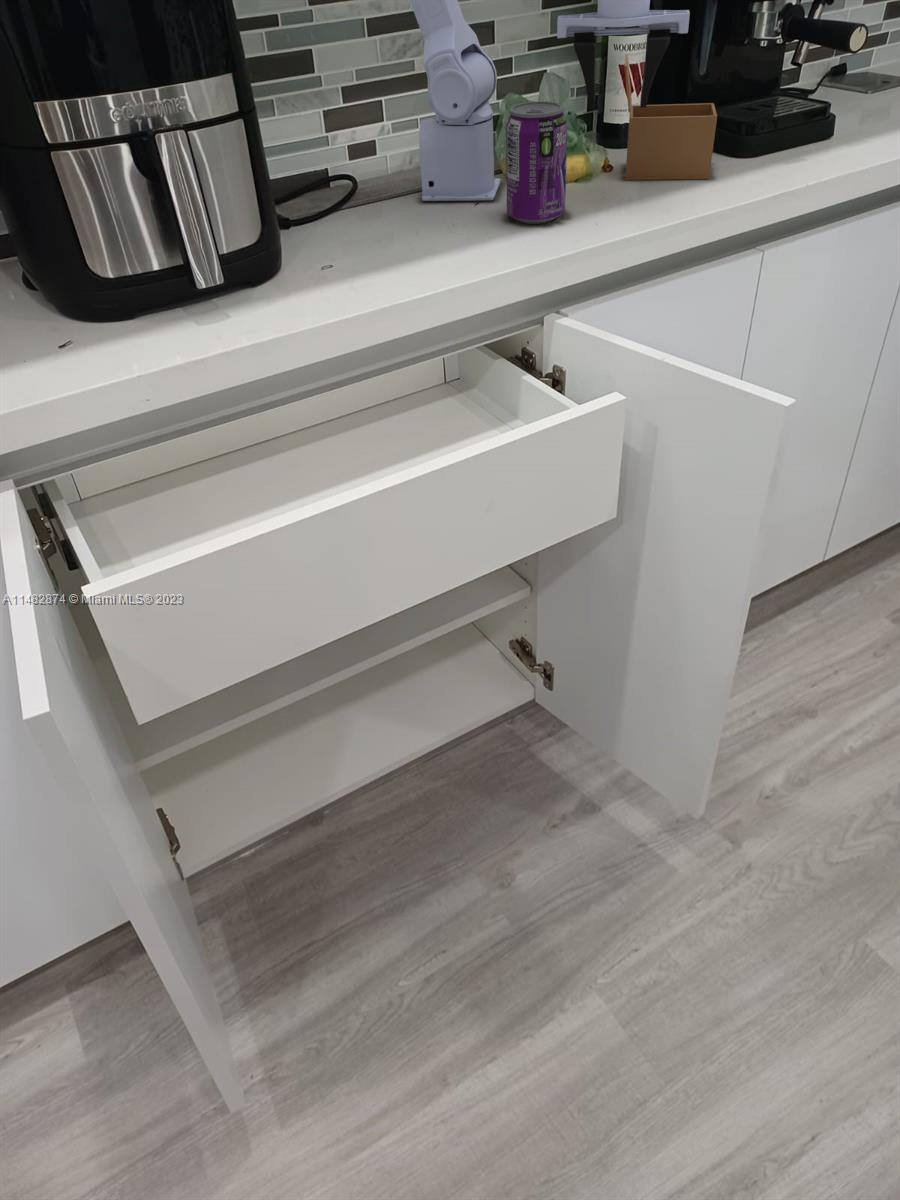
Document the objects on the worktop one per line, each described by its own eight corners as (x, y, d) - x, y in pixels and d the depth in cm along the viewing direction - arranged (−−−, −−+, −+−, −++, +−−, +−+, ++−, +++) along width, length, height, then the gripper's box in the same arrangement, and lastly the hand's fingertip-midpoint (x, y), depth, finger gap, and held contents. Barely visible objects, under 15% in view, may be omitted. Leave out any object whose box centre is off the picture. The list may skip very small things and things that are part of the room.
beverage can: (561, 227, 103) (564, 114, 95) (502, 226, 105) (500, 115, 97) (567, 207, 108) (570, 99, 101) (511, 207, 110) (510, 100, 102)
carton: (625, 180, 116) (629, 118, 111) (626, 165, 121) (630, 105, 116) (709, 179, 114) (717, 116, 109) (706, 164, 119) (713, 103, 114)
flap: (631, 112, 110) (628, 112, 110) (631, 99, 115) (629, 100, 115) (627, 65, 107) (624, 66, 107) (627, 54, 112) (625, 55, 112)
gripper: (693, -42, 96) (678, 96, 105) (561, -36, 99) (558, 100, 108) (695, -35, 91) (680, 111, 100) (556, -28, 93) (554, 114, 102)
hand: (617, 106), depth 103 cm, fingers open, 5 cm apart
